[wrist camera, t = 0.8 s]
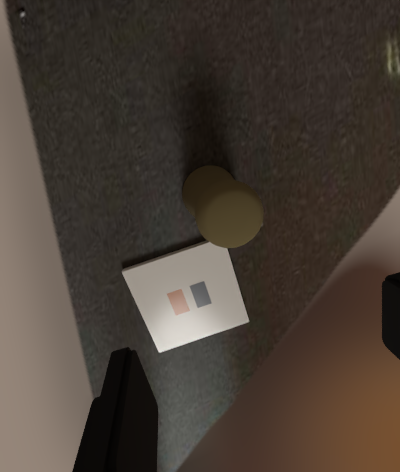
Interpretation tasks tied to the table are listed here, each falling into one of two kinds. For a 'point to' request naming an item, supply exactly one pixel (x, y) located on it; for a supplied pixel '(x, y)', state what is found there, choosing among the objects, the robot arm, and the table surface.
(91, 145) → the table surface
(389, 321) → the robot arm
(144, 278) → the tile
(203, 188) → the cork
